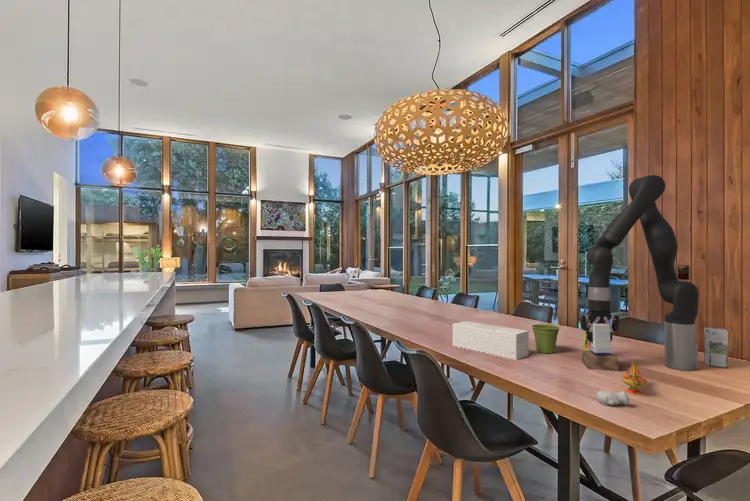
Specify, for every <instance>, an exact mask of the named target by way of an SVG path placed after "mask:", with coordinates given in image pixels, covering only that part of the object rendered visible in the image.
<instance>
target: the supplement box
mask: <svg viewBox="0 0 750 501" xmlns="http://www.w3.org/2000/svg"><path fill="white" fill-rule="evenodd" d="M590 324H592V323H590ZM610 325H611V324H610ZM610 325H609V324H606V323H604V324H593V330H592V333H593V341H592V342H590V351H591V352H593V353H594V354H611V353H612V348H611V347H612V345H611V342H610Z"/></svg>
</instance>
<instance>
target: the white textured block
mask: <svg viewBox="0 0 750 501" xmlns="http://www.w3.org/2000/svg"><path fill="white" fill-rule="evenodd" d="M529 332H530V331H529V330H526V329H525V330H524V329H520V328H513V327H507V326H500V325H493V324H487V323H482V322H480V323H479V322H476V321H475V322H473V321H469V320H465V321H458V322H453V323H452V347H455V346H457V347H456V348H460V347H462V348H461V349H464V348H466V349H465V350H469V349H471V350H470V351H473V350H475V351H474V352H478V351H480V352H479V353H482V352H485V353H484V354H487V353H489V354H488V355H491V354H493V355H492V356H496V355H497V356H496V357H500V356H502V357H501V358H505V357H506V359H509V358H510V359H511V360H515V361H518V360H520V359H522V358H526V357H528V356H529V354H530V353H529V352H530V351H529V350H530V349H529V348H530V345H529V344H530V342H529V341H530V338H529V337H530V336H529V335H530V334H529Z"/></svg>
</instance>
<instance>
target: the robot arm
mask: <svg viewBox="0 0 750 501" xmlns="http://www.w3.org/2000/svg"><path fill="white" fill-rule="evenodd" d="M665 190H666V182H665V180H664V179H663V177H661V176H660V175H655V174H651V175H645V176H642V177H641V176H640V177H638V178H635V179H633V180H632V181H631V182H630V184H629V187H628V193H629V197H630V199H631V202H630V203H629V204H628V205H627V206H626V207H625V208H624V209H623V210H622V211H621V212H619V213H618V214H617V215H616V216H615V217H614V218H613V220H612V221H611V222H610V223H609V224H608V225H607V227H606V229H605V230H604V232H603V233H602V234H601V236H600V237H599V238H598V239H596V241H595V242H594V243H593V244H592V245H590V247H589V248H588V250H587V252H586V256H585V258H586V261H587V262H588V263H589V264H590V265H592V266H593V267H592V271H591V272H589V275H588V294H587V295H588V296H587V297H588V298H587V299H588V300H587V302H588V303H587V307H588V309H587V310H589V312H588V313H587V314H582V313H580V314H579V321H580V322H579V323H580V329H581V330H583V331H584V330H585V331H586V332H587V340H588V341H589V342H592V341H593V333H592V330H593V324H604V323H606V324H609V325H610V343H611V342H612V341H613V333H614V332H617V331H618V330H619V323H620V316H619V315H617V314H612V313H611V309H612V308H611V306H612V305H611V298H612V297H611V287H610V286H611V284H610V282H611V281H610V278H611V272H612V269H613V263H614V257H613V256H614V255H613V252H612V250H613V249H614V248H616V247H619V245H620V244H621V243H622V242H623V240H624V239H625V238H626V236H627V235H628V233H629V232H630V231H631V230H632V228H633V227H634V226H635V225H636V223H637V222H638V220H639V221H640V225H641V228H642V231H643V234H644V238H645V242H646V245H647V248H648V251H649V253H650V257H651V261H652V265H653V267H654V272H655V276H656V281H657V289H658V293H659V295H660V298H661V299H662V300H663V301H664V302H665V303H668V304H673V306H672V310H671V311H670V312H667V313H665V314H664V322H663V323H664V360H663V361H664V366H665V367H667V368H671V369H674V370H677V371H678V370H679V371H688V372H690V371H695V370H699V350H698V348H699V347H698V346H699V345H698V344H697V343H696V333H695V332H696V319H697V317H698V314H699V299H700V298H699V296H700V295H699V290H698V287H697V286H696V285H695V284H694V283H693V282H690V281H684V280H679V279H678V275H677V273H676V269H675V262H676V258H677V254H678V250H679V249H678V248H679V247H678V246H679V244H678V241H677V238H676V235H675V231H674V229H673V227H672V226H671V224H670V223H669V222H668V221H667V220H666V218H665V217H664V216H663V215H662V214H661V212H660V211H659V209H658V207H657V206H658V205H657V204H656V201H657V200H658V199H659V198H661V196H662V194H664V192H665ZM588 318H589V319H590V321H589V323H588V326H587V324H586V321H587V319H588ZM610 320H612V321H611V323H610ZM590 323H592V324H590Z"/></svg>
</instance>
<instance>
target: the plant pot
mask: <svg viewBox="0 0 750 501" xmlns="http://www.w3.org/2000/svg"><path fill="white" fill-rule="evenodd" d="M530 326H531V327H532V332H533V334H534V340H535V347H536V351H537V352H538V353H542V354H547V353H548V354H554V353H555V352H556V348H557V347H556V345H557V339H558V334H559V331H560V329H561V327H560V326H559V325H552V324H544V323H543V324H539V323H538V324H531V325H530Z"/></svg>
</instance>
